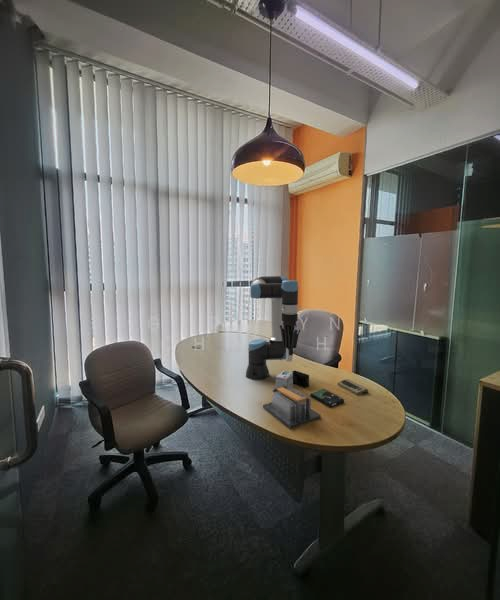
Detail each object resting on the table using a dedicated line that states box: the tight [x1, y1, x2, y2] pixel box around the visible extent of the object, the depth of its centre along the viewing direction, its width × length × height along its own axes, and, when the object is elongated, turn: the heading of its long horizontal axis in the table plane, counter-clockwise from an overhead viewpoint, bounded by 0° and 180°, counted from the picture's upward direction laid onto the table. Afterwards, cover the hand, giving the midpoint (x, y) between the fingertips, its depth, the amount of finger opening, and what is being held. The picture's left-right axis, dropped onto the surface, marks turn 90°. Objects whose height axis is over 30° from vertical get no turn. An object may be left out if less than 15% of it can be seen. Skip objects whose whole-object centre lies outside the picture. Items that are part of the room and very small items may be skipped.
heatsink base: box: [262, 385, 322, 430], centre depth 134 cm, size 22×18×10 cm
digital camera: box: [292, 370, 310, 389], centre depth 167 cm, size 10×5×7 cm, turn 43°
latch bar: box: [277, 387, 307, 403], centre depth 134 cm, size 19×4×2 cm, turn 30°
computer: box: [337, 378, 369, 396], centre depth 160 cm, size 16×8×3 cm, turn 24°
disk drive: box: [309, 388, 345, 409], centre depth 147 cm, size 10×3×15 cm
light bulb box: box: [275, 370, 294, 393], centre depth 156 cm, size 11×7×11 cm, turn 152°
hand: (289, 360), depth 134 cm, fingers closed
